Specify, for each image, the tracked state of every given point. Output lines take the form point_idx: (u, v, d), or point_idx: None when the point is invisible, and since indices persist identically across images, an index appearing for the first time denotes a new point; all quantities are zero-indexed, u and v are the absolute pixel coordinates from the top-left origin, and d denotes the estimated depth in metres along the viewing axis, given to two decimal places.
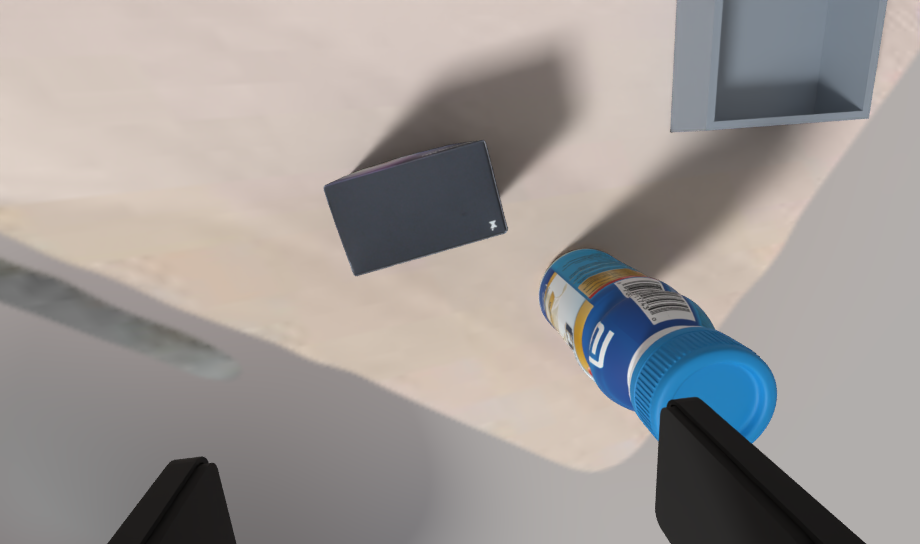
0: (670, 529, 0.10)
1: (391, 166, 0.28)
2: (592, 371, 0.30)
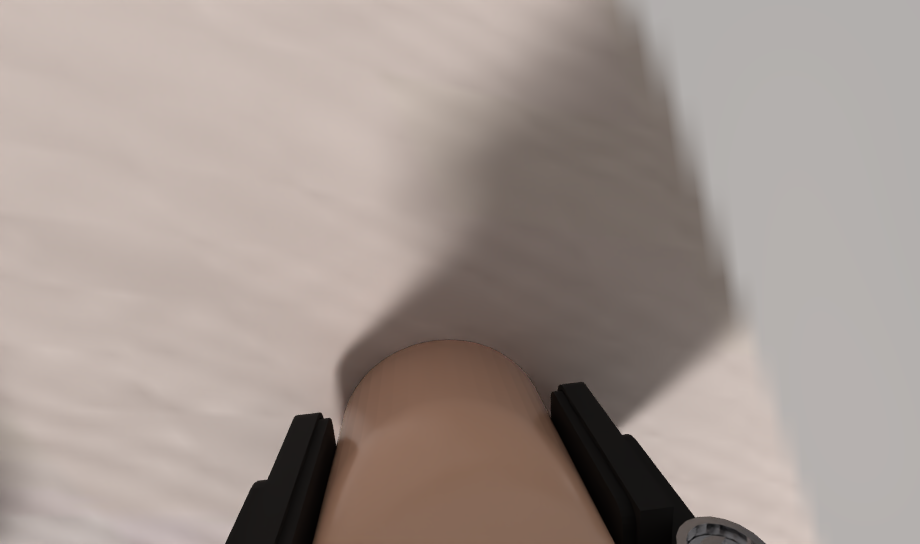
0: None
1: None
2: None
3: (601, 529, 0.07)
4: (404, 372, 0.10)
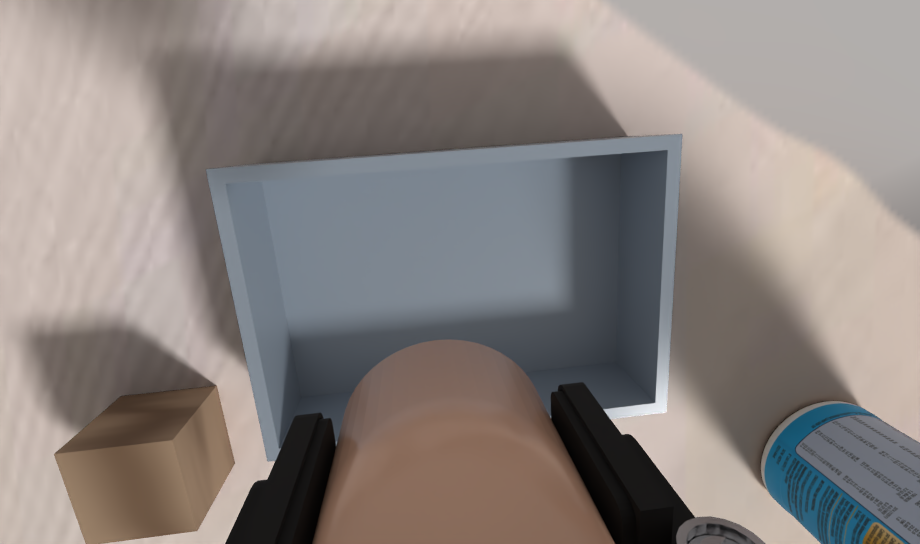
0: None
1: None
2: None
3: (601, 529, 0.07)
4: (404, 372, 0.10)
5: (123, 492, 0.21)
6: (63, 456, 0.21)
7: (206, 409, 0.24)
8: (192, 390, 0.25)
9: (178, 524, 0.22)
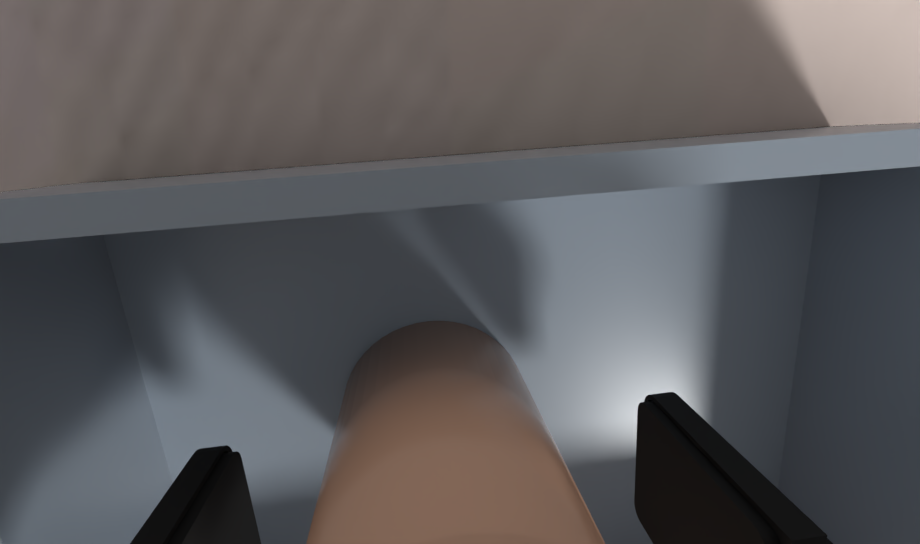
0: (647, 521, 0.10)
1: None
2: None
3: (562, 467, 0.08)
4: (399, 346, 0.11)
5: None
6: None
7: None
8: None
9: None
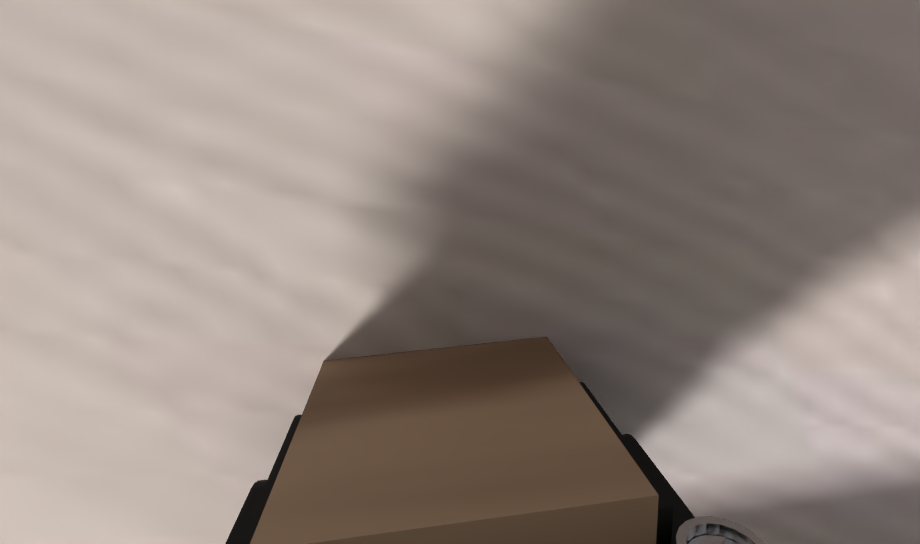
0: None
1: None
2: None
3: None
4: None
5: None
6: (643, 518, 0.06)
7: None
8: None
9: None
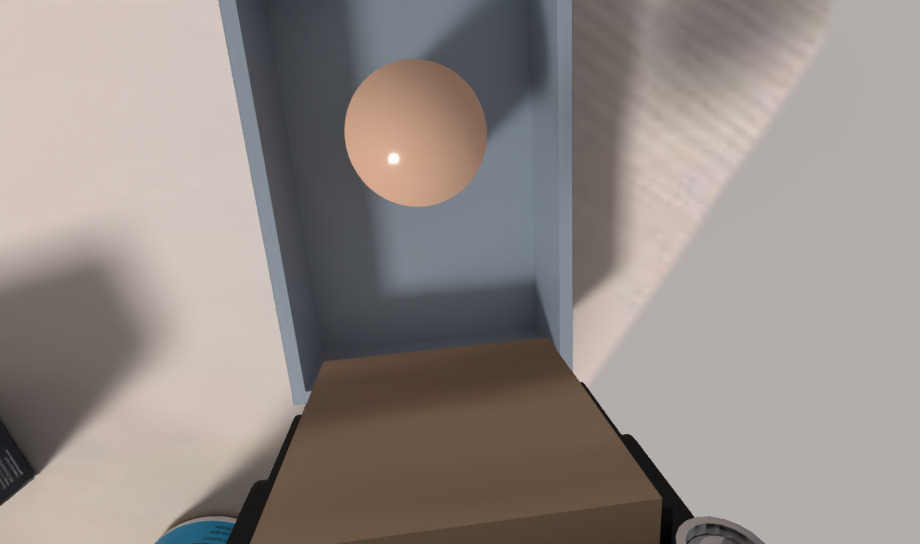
0: None
1: None
2: None
3: None
4: None
5: None
6: (646, 522, 0.06)
7: None
8: None
9: None
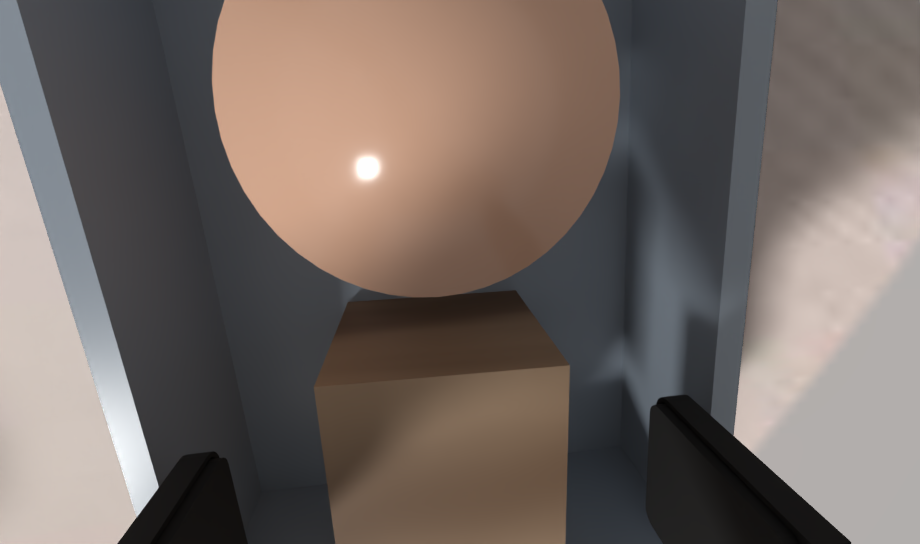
0: (660, 525, 0.10)
1: None
2: None
3: None
4: None
5: (455, 476, 0.10)
6: (560, 381, 0.09)
7: None
8: None
9: None
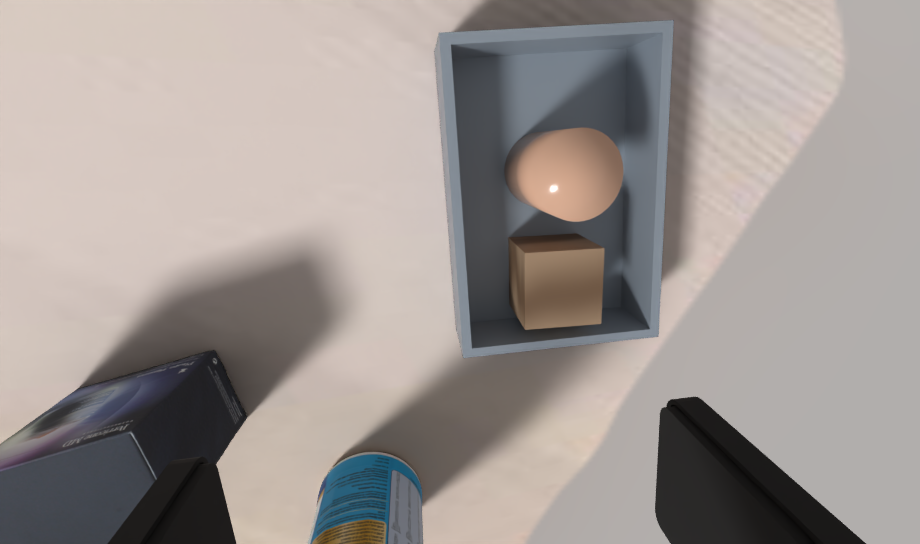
0: (670, 529, 0.10)
1: (19, 463, 0.24)
2: None
3: None
4: None
5: (565, 286, 0.29)
6: (601, 253, 0.29)
7: None
8: None
9: (532, 318, 0.29)
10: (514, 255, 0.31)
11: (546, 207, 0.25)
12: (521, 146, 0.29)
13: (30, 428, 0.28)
